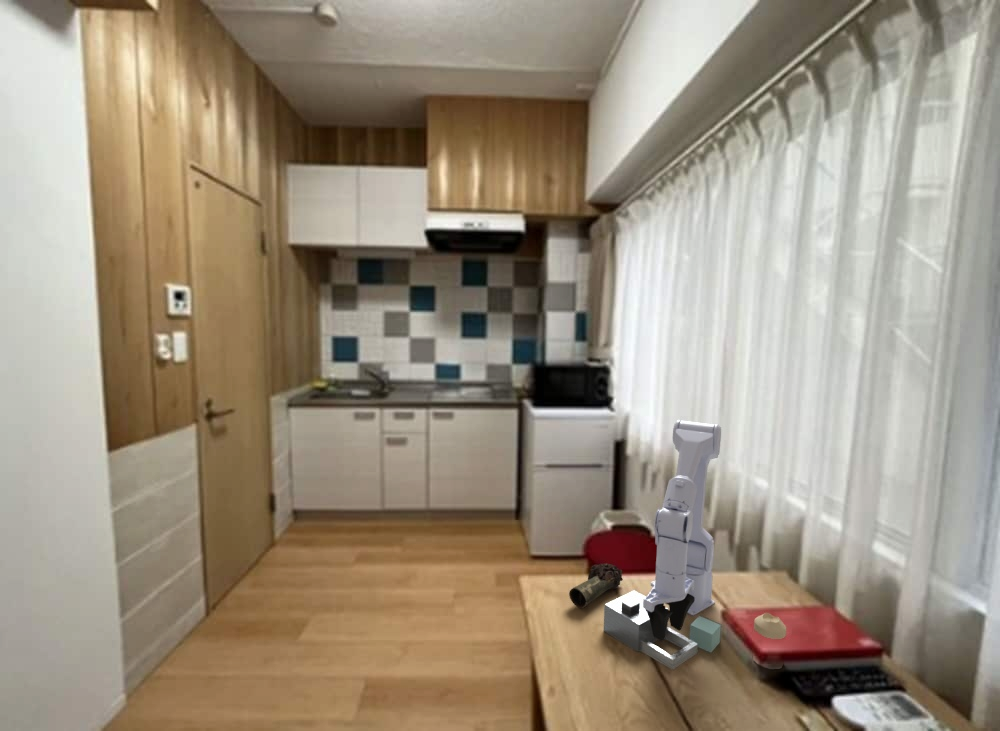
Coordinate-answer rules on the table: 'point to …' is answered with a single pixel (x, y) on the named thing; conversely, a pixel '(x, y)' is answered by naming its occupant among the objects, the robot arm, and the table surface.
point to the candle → (770, 626)
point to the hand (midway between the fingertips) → (667, 632)
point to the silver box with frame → (643, 630)
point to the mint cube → (705, 633)
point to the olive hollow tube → (596, 584)
